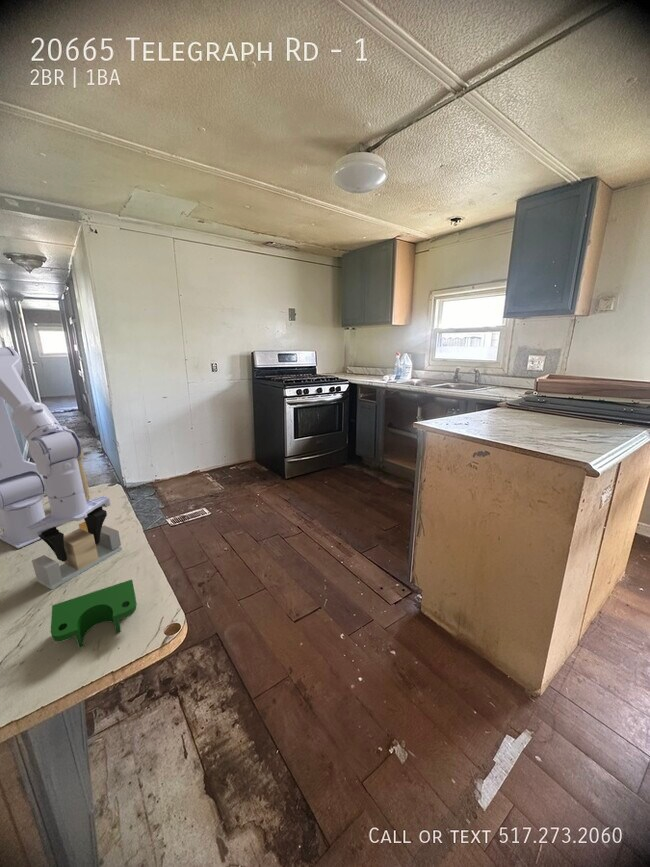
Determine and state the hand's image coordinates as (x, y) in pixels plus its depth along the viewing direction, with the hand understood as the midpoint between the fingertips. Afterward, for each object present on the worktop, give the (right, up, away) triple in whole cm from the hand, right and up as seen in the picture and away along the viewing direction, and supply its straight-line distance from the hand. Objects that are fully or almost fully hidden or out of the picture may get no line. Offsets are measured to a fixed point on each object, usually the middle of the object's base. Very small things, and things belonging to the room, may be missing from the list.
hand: (79, 550), depth 70 cm
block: (0, -2, +1) cm, 3 cm away
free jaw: (0, -1, +7) cm, 7 cm away
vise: (0, -3, +1) cm, 3 cm away
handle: (-19, +5, +27) cm, 34 cm away
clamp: (+14, -8, -14) cm, 21 cm away
